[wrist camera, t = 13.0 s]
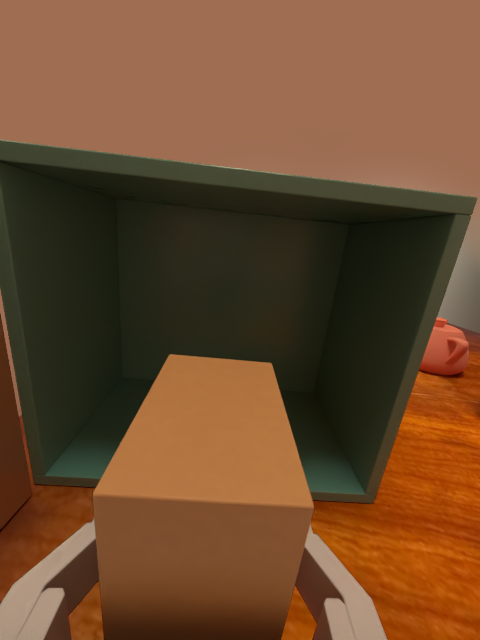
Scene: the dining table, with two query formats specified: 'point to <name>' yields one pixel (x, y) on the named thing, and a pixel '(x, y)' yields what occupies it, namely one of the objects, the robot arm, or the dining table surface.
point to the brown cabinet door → (10, 445)
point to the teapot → (445, 350)
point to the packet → (203, 508)
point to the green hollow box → (216, 299)
